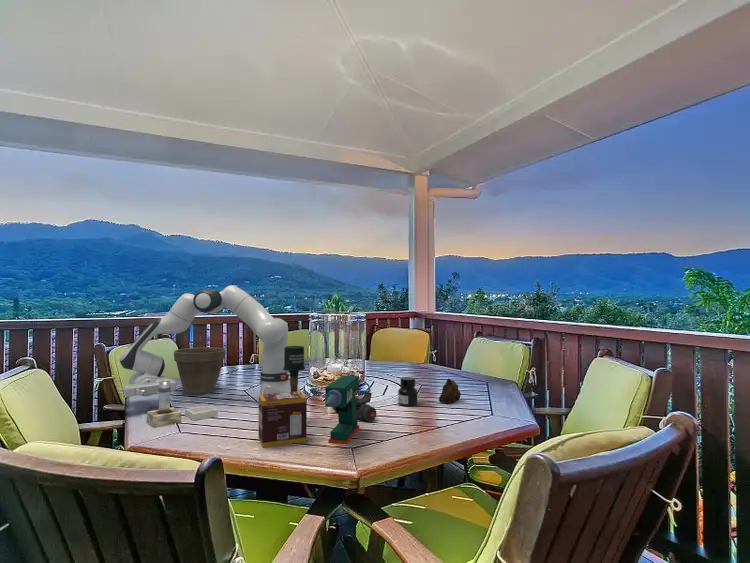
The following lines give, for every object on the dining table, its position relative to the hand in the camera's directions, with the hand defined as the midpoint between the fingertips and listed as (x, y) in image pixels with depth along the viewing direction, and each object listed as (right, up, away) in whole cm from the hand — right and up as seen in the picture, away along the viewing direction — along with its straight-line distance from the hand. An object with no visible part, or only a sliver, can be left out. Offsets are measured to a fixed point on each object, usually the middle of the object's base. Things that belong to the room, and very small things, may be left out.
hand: (155, 391), depth 185 cm
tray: (+19, -10, 0) cm, 22 cm away
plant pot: (+2, -11, +43) cm, 45 cm away
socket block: (+8, -10, -9) cm, 16 cm away
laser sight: (+83, -11, 0) cm, 84 cm away
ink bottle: (+107, -11, +19) cm, 110 cm away
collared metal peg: (+8, -10, -9) cm, 16 cm away
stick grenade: (+60, -10, -9) cm, 61 cm away
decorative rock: (+128, -11, +24) cm, 130 cm away
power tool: (+80, -10, -31) cm, 86 cm away
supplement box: (+59, -10, -30) cm, 67 cm away
